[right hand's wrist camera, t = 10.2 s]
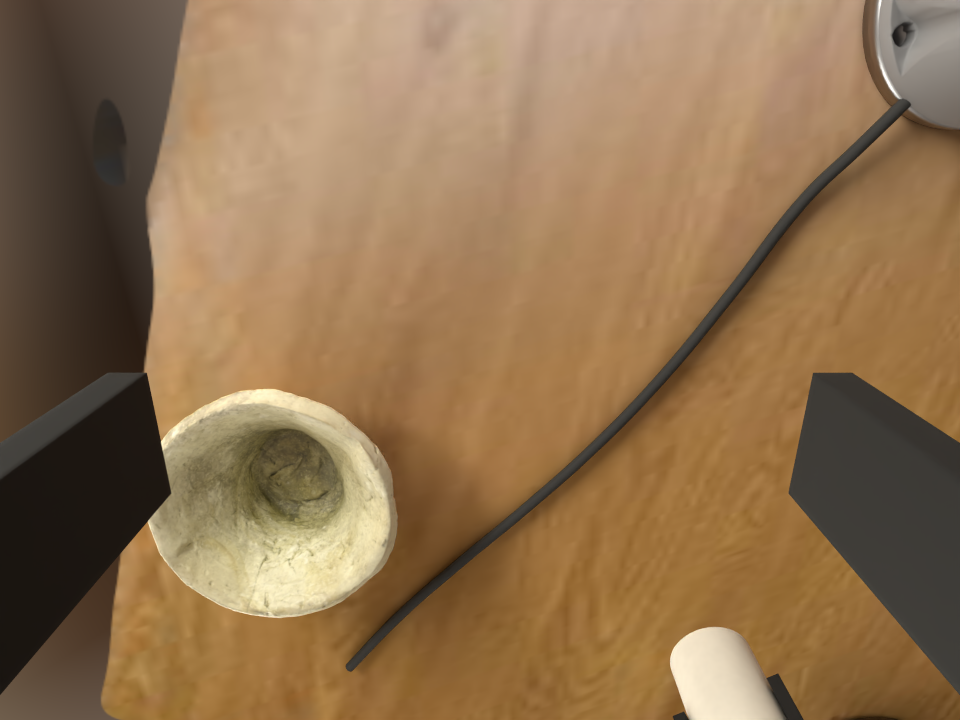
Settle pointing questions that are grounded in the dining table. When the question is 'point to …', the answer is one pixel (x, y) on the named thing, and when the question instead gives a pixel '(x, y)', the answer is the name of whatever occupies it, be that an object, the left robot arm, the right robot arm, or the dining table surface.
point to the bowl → (274, 504)
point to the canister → (722, 678)
